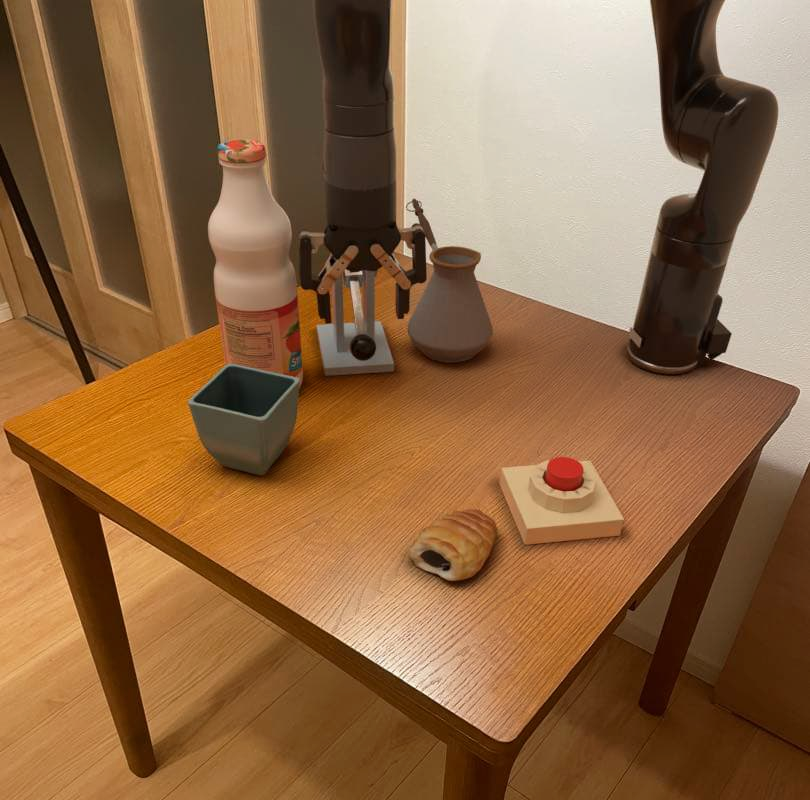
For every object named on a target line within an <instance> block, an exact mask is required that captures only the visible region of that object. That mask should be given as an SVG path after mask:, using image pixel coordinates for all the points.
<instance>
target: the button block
mask: <svg viewBox="0 0 810 800" xmlns="http://www.w3.org/2000/svg"><path fill="white" fill-rule="evenodd" d="M550 460H551V459H549V460H544V461H542V462H540V463H538V464H531V465H518V466H506V467H501V468H500V475H499V483H498V485H499V487H500V489H501V491H502V492H501V493H502V494H503V497H504V499H505V501H506V503H507V505H508V509H509V511H510V513H511V516H512V518H513V520H514V523H515V525H516V527H517V528H516V529H517V530H518V533H519V535H520V537H521V540H522V543H523V545H524V546H527V545H537V544H538V545H539V544H548V543H558V542H568V541H578V540H589V539H598V538H599V539H600V538H608V537H618V536H619V537H620V536H621V533H622V530H623V525H624V522H625V518H624V516H623V515H622V512H621V511H620V509H619V508H618V505H617V504H616V502H615V500H614V499H613V497H612V495H611V494H610V492H609V489H608V488H607V487H606V485H605V483H604V481H603V480H602V478H601V476H600V474H599V473H598V471H597V469H596V468H595V466H594V464H593V463H592V460H580V461H579V460H577V461H578V462H580V463H581V464H582V466H583V469H584V471H583V475H582V480H581V485H580V487H579V488H578V489H576V490H574V491H567V492H564V491H559V490H555V489H553V488H551V487H550V486H548V485H547V483H546V481H545V476H546V470H547V465H548V462H549V461H550Z"/></svg>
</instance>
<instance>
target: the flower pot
mask: <svg viewBox="0 0 810 800" xmlns="http://www.w3.org/2000/svg"><path fill="white" fill-rule="evenodd" d="M299 383H300V379H299V378H296V377H293V376H288V375H283V374H278V373H274V372H269V371H264V370H260V369H255V368H251V367H245V366H242V365H237V364H227V365H225V364H224V366H222V368H221V369H219V371H217V373H215V374H214V375H213V377H212V378H210V379H209V380H208V381H207V382H206V383H205V384H204V385H203V386H202V387H201V388H199V390H197V392H196V393H194V394H193V395H192V396H191V397H190V398H189V399H188V401H187V404H188V407H189V411H190V414H191V417H192V420H193V424H194V427H195V430H196V432H197V435H198V437H199V440H200V442H201V444H202V446H203V447H204V449H205V450H206V451H207V452H208V454H209V455H210V456H211V457H212V458H213V459H214V460H215V461H216V462H217V463H219V464H220V465H221V466H222V467H225V468H229V469H233V470H237V471H241V472H245V473H249V474H253V475H256V476H263V475H265V474H266V473H267V472H268V471H269V469H270V468H271V466H272V465H273V464H274V463H275V461H277V459H278V458H279V457H280V456H281V454H282V453H283V451H284V450H285V448H286V446H287V445H288V443H289V442H290V439H291V438H292V435H293V433H294V429H295V427H296V424H297V423H296V422H297V418H298V411H299V410H298V409H299V397H300V396H299V395H300V388H299Z"/></svg>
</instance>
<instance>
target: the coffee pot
mask: <svg viewBox="0 0 810 800" xmlns="http://www.w3.org/2000/svg"><path fill="white" fill-rule="evenodd" d="M410 204H412V207H413V210H412V209H408V206H409V205H410ZM422 207H423V206H422V202H421V201H420V200H417V199H416V198H412V200H411V201H409V202H408V203H406V205H405V210H406V211H408V212H409V213H410V212H412V213H413V212H414V215H415V216H416V217H417V218H418V219H417V220H418V224H420V225H421V227H422V229H423V231H424V234H425V240H426V241H427V243H428V245H429V247H430V248H431V251H430V252H429V260H430V262H431V263H432V267H433V272H432V274H431V275H430V278H429V280H428V282H427V283H426V286H425V288H424V290H423V292H422V294H421V296H420V299H419V300H418V302H417V304H416V307H415V309H414V311H413V313H412V314H411V317H410V319H409V321H408V323H407V330H406V331H407V334H408V336H409V338H410V340H411V343H412V344H413V345H414V346H415V347H416V348H417V349H418V350H419V351H421V352H422V354H423V355H425V357H427V358H428V359H431V360H434V361H437V362H441V363H461V362H465V361H468V360H470V359H472V358H473V357H475V356H476V355H477V354H479V353H480V352H481V351H483V350H484V349H485V348H486V347H487V346H488V345H489V343H490V342H491V340H492V337H493V335H494V329H493V324H492V321H491V318H490V316H489V312H488V310H487V307H486V304H485V301H484V298H483V295H482V292H481V289H480V286H479V284H478V280H477V278H476V275H475V270H476V267H477V265H479V263H480V261H481V259H482V253H481V252H479V251H476V250H475V249H471V248H469V247H465V246H458V245H457V246H456V245H454V246H453V245H450V246H448V245H447V246H441V247H438V244H437V241H436V238H435V235H434V233H433V230H432V226H431V224H430V222H429V220H428V219H427V217H426V216H425V214H424V209H423V208H422Z"/></svg>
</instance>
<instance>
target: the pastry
mask: <svg viewBox="0 0 810 800" xmlns="http://www.w3.org/2000/svg"><path fill="white" fill-rule="evenodd" d="M497 533H498V527H497V524H496V521H495V520H494V518H492V517H491V516H489V515H488V514H486V513H484V511H482V510H481V509H478V508H477V509H475V508H474V509H472V508H469V509H464V510H460V511H459V510H455V511H454V512H452V513H451V514H449V513H446V514H444V515H443V516H442V517H441V518H436V519H435V520H433V522H432V523H431V524H430V526H426V527H424V528H422V529H421V531H420V532H419V533H418V535H417V538H416V540H415V543H414V544H413V545H412V547H410V548H409V551H408V552H409V553H408V554H409V557H410V559H411V560H412V561H413V563H414V565H415V566H416V567H418V568H419V569H422V570H423V571H426V572H429V573H432V574H434V575H438V576H440V578H443V579H445V580H446V581H449V582H456V581H457V582H458V581H464V580H467V579H469V578H472V577H474V576H475V575H476V574H477V573H479V571H480V570H482V567H483V566H484V564H485V562H486V561H487V559H488V558H489V556H490V554H491V551H492V549H493V546H494V544H495V542H496V538H497Z"/></svg>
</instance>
